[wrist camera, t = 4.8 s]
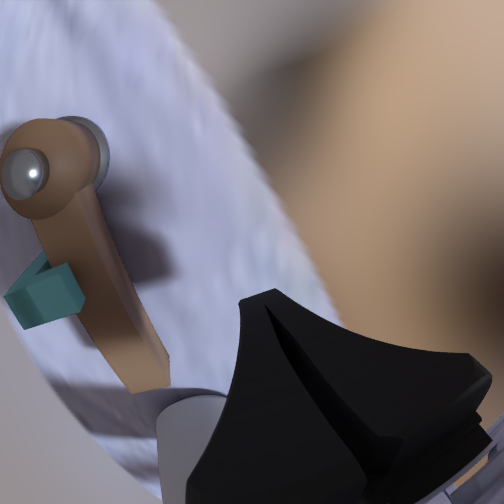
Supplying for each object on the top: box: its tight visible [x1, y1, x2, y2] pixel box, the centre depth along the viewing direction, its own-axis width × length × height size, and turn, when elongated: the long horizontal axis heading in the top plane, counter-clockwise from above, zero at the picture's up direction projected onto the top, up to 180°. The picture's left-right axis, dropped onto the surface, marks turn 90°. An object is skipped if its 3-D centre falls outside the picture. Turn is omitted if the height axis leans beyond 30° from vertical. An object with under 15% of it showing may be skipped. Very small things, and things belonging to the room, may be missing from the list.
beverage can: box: [156, 395, 227, 504], centre depth 12 cm, size 6×6×12 cm
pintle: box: [2, 116, 110, 200], centre depth 8 cm, size 4×4×4 cm
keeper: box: [4, 251, 86, 330], centre depth 9 cm, size 1×3×4 cm, turn 104°
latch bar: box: [0, 119, 171, 394], centre depth 10 cm, size 12×3×3 cm, turn 13°
